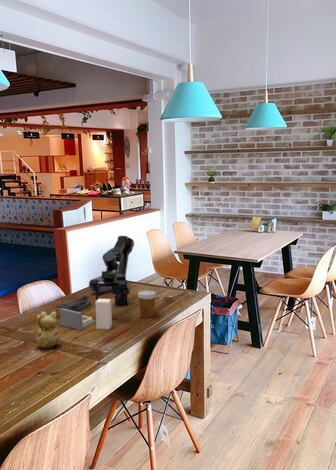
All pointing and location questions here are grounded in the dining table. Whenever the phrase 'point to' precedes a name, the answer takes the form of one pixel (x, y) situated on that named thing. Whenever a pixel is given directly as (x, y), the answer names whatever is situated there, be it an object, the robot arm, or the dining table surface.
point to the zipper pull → (76, 304)
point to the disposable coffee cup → (147, 302)
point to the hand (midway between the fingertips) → (106, 300)
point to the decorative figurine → (47, 330)
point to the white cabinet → (103, 314)
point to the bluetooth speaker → (102, 289)
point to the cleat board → (75, 319)
